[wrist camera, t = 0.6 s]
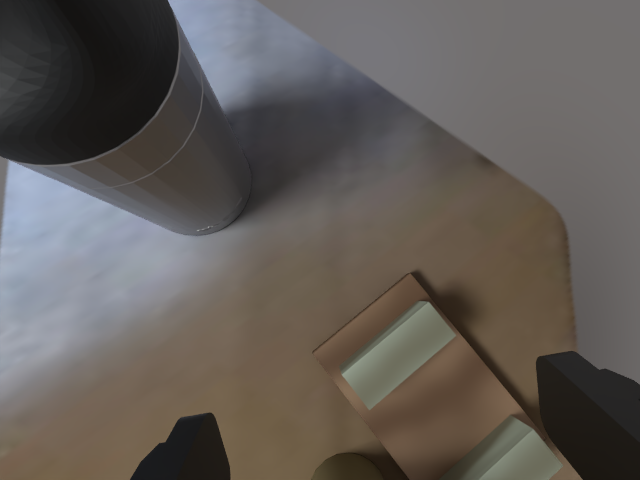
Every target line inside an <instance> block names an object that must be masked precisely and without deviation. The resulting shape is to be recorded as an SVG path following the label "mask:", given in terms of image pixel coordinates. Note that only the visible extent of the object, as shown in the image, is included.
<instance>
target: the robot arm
mask: <svg viewBox="0 0 640 480" xmlns="http://www.w3.org/2000/svg"><path fill="white" fill-rule="evenodd" d="M0 156H1V157H3V158H6V159H8V160H10V161H13V162H15V163H17V164H19V165H22V166H24V167H26V168H29V169H31V170H33V171H36V172H38V173H40V174H42V175H45V176H47V177H49V178H52V179H54V180H57V181H59V182H61V183H64V184H66V185H68V186H71V187H73V188H75V189H77V190H80V191H82V192H84V193H87V194H89V195H91V196H93V197H96V198H98V199H100V200H102V201H105V202H107V203H109V204H112V205H114V206H116V207H118V208H121V209H123V210H125V211H128V212H130V213H132V214H134V215H137V216H139V217H141V218H144V219H146V220H148V221H150V222H152V223H155V224H157V225H159V226H161V227H164V228H166V229H168V230H171V231H173V232H176V233H179V234H183V235H192V236H199V235H206V234H210V233H213V232H216V231H219V230H221V229H222V228H224V227H226V226H227V225H229V224H230V223H231V222H232V221H233V220H235V219H236V218H237V217H238V216H239V214H240V213H241V211H242V210H243V209H244V207H245V205H246V203H247V200H248V198H249V195H250V190H251V171H250V167H249V163H248V161H247V159H246V157H245V155H244V153H243V151H242V149H241V147H240V145H239V143H238V140H237V138H236V136H235V134H234V132H233V130H232V128H231V126H230V124H229V122H228V120H227V118H226V116H225V114H224V112H223V110H222V108H221V106H220V104H219V102H218V100H217V98H216V96H215V94H214V92H213V90H212V88H211V86H210V84H209V82H208V80H207V78H206V76H205V74H204V72H203V70H202V68H201V66H200V64H199V62H198V60H197V58H196V56H195V54H194V52H193V50H192V48H191V46H190V44H189V42H188V40H187V38H186V36H185V34H184V32H183V30H182V28H181V26H180V24H179V22H178V20H177V18H176V16H175V14H174V12H173V10H172V8H171V6H170V4H169V2H168V0H0ZM536 371H537V382H538V393H539V405H540V414H541V418H542V422H543V425H544V427H545V430H546V432H547V434H548V435H549V437H550V439H551V440H552V442H553V443H554V444H555V446H556V447H557V448H558V449H559V451H560V452H561V453H562V454H563V456H564V457H565V458H566V459H567V460H568V462H569V463H570V464H571V465H572V467H573V468H574V469H575V470H576V472H577V473H578V474H579V475H580V477H581V478H582V479H583V480H640V385H639V384H638V383H637V382H635V381H634V380H631V379H629V378H627V377H624V376H622V375H620V374H617V373H615V372H612V371H610V370H607V369H601V370H599V369H597V368H596V367H595V366H593V365H592V364H591V363H589V362H588V361H587V360H586V359H584V358H583V357H582V356H580V355H579V354H578V353H576V352H574V351H568V352H562V353H556V354H551V355H545V356H539V357H538V358H537V361H536ZM130 480H230V466H229V462H228V458H227V455H226V452H225V448H224V445H223V442H222V438H221V435H220V432H219V428H218V425H217V422H216V419H215V416H214V415H213V414H212V413H204V414H199V415H193V416H187V417H181V418H180V419H179V420H178V421H177V423H176V424H175V426H174V428H173V430H172V432H171V433H170V435H169V437H168V439H167V440H166V442H165V443H159V444H158V445H157V446H156V447H155V448H154V449H153V450H152V451H151V452H150V453H149V454H148V455H147V456H146V457H145V458H144V459H143V460H142V461H141V462H140V464H139V466H138V467H137V469H136V471H135V472H134V474H133V476H132V477H131V479H130Z"/></svg>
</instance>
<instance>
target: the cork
mask: <svg viewBox="0 0 640 480" xmlns="http://www.w3.org/2000/svg"><path fill="white" fill-rule="evenodd" d="M311 480H384V479H383V477H382V475H381V472H380V471H379V469H378V468H377V467H376V466H375V465H374V464H373V463H372V462H371V461H370V460H368V459H366V458H365V457H363V456H361V455H357V454H352V453H343V454H336V455H334V456H332V457H330V458H329V459H327V460H325V461H324V462H323V463H322V464H321V465H320V466H319V467H318V468H317V469H316V471H315V473H314V475H313V477H312V479H311Z"/></svg>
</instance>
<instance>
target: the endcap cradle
mask: <svg viewBox="0 0 640 480" xmlns="http://www.w3.org/2000/svg"><path fill="white" fill-rule="evenodd" d="M313 355H314V356H315V357H316V359H317V360H318V361H319V363H320V364H321V365H322V367H323V368H324V369H325V370H326V372H327V373H328V374H329V376H330V377H331V378H332V380H333V381H334V382H335V383H336V385H337V386H338V387H339V389H340V390H341V391H342V393H343V394H344V395H345V396H346V398H347V399H348V400H349V402H350V403H351V404H352V406H353V407H354V408H355V409H356V411H357V412H358V413H359V415H360V416H361V417H362V419H363V420H364V421H365V422H366V424H367V425H368V426H369V428H370V429H371V430H372V432H373V433H374V434H375V435H376V437H377V438H378V439H379V441H380V442H381V443H382V445H383V446H384V447H385V448H386V450H387V451H388V452H389V454H390V455H391V456H392V458H393V459H394V460H395V461H396V463H397V464H398V465H399V467H400V468H401V469H402V471H403V472H404V473H405V474H406V476H407V477H408V478H409V480H549V479H550V478H551V477H552V476H553V475H554V474H555V473H556V472H557V471H558V470H559V469H560V468H561V467H562V466H563V465H562V463H561V462H560V461H559V460H558V459H557V457H556V456H555V455H554V454H553V452H552V451H551V450H550V449H549V448H548V446H547V445H546V444H545V443H544V442H543V441H544V440H545V439H546V437H545V436H544V435H543V434H542V433H541V431H540V430H539V429H538V428H537V427H536V425H535V424H534V423H533V422H532V420H531V419H530V418H529V417H528V416H527V414H526V413H525V412H524V411H523V409H522V408H521V407H520V406H519V405H518V403H517V402H516V401H515V400H514V399H513V397H512V396H511V395H510V394H509V392H508V391H507V390H506V389H505V388H504V386H503V385H502V384H501V383H500V382H499V380H498V379H497V378H496V377H495V375H494V374H493V373H492V372H491V371H490V369H489V368H488V367H487V366H486V365H485V363H484V362H483V361H482V360H481V358H480V357H479V356H478V355H477V354H476V352H475V351H474V350H473V349H472V348H471V346H470V345H469V344H468V343H467V341H466V340H465V339H464V338H463V337H462V335H461V334H460V333H459V332H458V330H457V329H456V328H455V327H454V326H453V324H452V323H451V322H450V321H449V320H448V318H447V317H446V316H445V315H444V313H443V312H442V311H441V310H440V309H439V307H438V306H437V305H436V304H435V303H434V301H433V300H432V299H431V298H430V296H429V295H428V294H427V293H426V292H425V290H424V289H423V288H422V287H421V286H420V284H419V283H418V282H417V281H416V279H415V278H414V277H413V276H412V275H411V273H409V274H406V275H405V276H404V277H403V278H402V279H400V280H399V281H398V282H397V283H396V284H394V285H393V286H392V287H391V288H389V289H388V290H387V291H386V292H385V293H383V294H382V295H381V296H380V297H378V298H377V299H376V300H375V301H374V302H372V303H371V304H370V305H369V306H368V307H366V308H365V309H364V310H363V311H361V312H360V313H359V314H358V315H357V316H355V317H354V318H353V319H352V320H350V321H349V322H348V323H347V324H346V325H344V326H343V327H342V328H341V329H340V330H338V331H337V332H336V333H335V334H333V335H332V336H331V337H330V338H329V339H327V340H326V341H325V342H324V343H322V344H321V345H320V346H319V347H318V348H316V349H315V350H314V351H313Z"/></svg>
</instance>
